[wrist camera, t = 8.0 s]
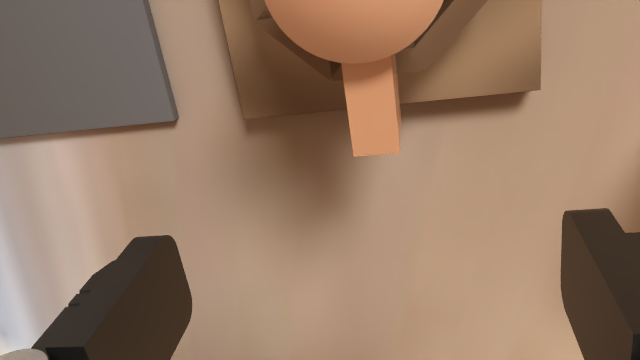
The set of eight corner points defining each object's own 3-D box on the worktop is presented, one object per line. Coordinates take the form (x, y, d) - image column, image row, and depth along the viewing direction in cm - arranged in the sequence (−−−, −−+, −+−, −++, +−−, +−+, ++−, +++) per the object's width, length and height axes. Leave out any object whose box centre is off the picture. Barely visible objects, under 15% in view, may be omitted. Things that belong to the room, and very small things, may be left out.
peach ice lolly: (295, -117, 24) (239, -125, 16) (431, -140, 23) (446, -162, 15) (325, 93, 27) (293, 173, 19) (443, 80, 26) (461, 159, 18)
